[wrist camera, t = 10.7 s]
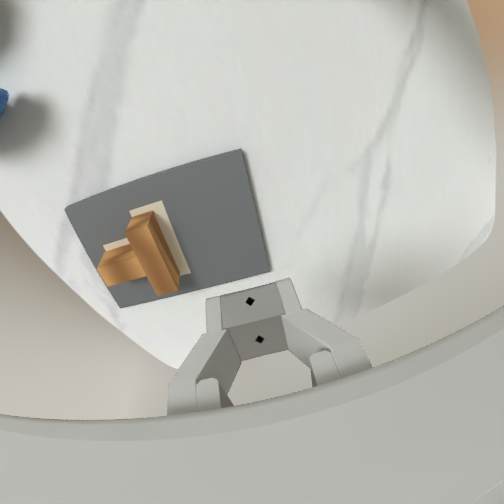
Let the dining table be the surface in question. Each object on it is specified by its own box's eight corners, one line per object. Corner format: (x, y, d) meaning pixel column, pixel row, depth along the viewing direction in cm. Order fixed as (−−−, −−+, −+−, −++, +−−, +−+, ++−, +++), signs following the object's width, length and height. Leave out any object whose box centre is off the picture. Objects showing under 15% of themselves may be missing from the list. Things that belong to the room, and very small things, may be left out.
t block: (152, 210, 36) (147, 225, 32) (180, 272, 41) (178, 290, 38) (93, 230, 36) (83, 246, 32) (124, 286, 41) (119, 305, 38)
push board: (240, 148, 34) (241, 150, 33) (268, 267, 44) (270, 271, 43) (67, 206, 34) (64, 209, 33) (121, 304, 44) (120, 308, 44)
